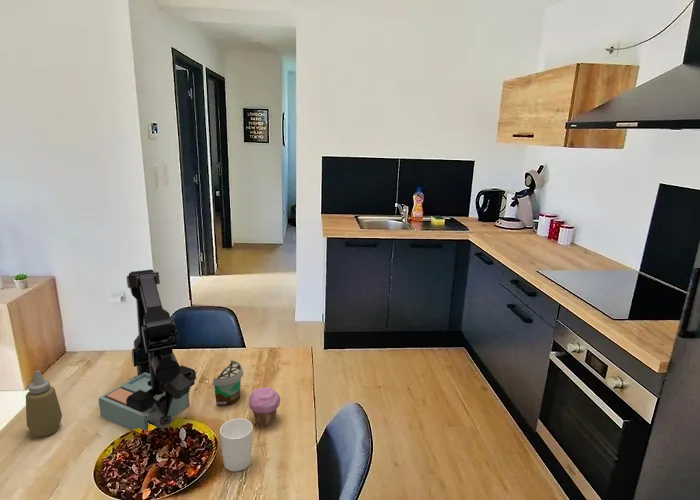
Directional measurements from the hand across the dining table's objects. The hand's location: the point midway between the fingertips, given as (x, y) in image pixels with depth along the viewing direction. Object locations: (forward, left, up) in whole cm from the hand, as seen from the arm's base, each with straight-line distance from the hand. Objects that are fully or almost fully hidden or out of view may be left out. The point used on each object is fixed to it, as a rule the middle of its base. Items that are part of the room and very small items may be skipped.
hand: (165, 414), depth 123 cm
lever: (-8, 0, -3) cm, 8 cm away
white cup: (+25, 0, -6) cm, 25 cm away
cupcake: (+21, +17, -6) cm, 27 cm away
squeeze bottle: (-28, -15, -6) cm, 33 cm away
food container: (+6, +21, -6) cm, 22 cm away
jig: (-12, +4, -5) cm, 14 cm away
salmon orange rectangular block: (-15, 0, -2) cm, 16 cm away
